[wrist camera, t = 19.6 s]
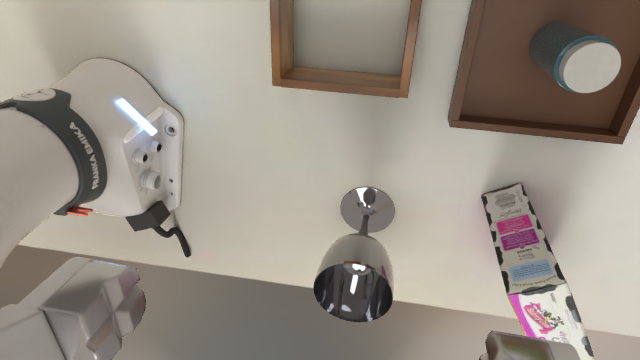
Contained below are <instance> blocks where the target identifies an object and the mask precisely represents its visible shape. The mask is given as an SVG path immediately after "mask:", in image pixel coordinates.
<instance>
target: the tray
mask: <svg viewBox="0 0 640 360" xmlns="http://www.w3.org/2000/svg"><path fill="white" fill-rule="evenodd" d="M554 21H567V22H570V23H572V24H575V25H577V26H579V27H582V28H584V29H587V30H589V31H591V32H594V33H596V34H598V35H601V36H603V37H606V38H608V39H609V40H611V41H612V42H613V43H614V44H615V46H616V48H617V50H618V52H619V54H620V57H621V66H620V70H619V72H618V74H617V76H616V77H615V78H614V80H613V81H612V82H611V83H610V84H608V85H607V86H606V87H604V88H602V89H600V90H598V91H595V92H591V93H579V92H571V91H568V90H565V89H564V88H562V87H561V86H560V85H559V84H558V83H556V82H555V81H554V80H553V79H552V78H551V77H550V76H548V75H547V74H546V73H545V72H544V71H543V70H542V69H540V68H539V67H538V66H537V65H536V64H535V63H534V62H533V61H532V60H531V58H530V55H529V46H530V42H531V40H532V38H533V36H534V35H535V33H536V32H537V31H538V30H539V29H540V28H542V27H543V26H545V25H546V24H548V23H551V22H554ZM639 107H640V0H472V3H471V8H470V13H469V18H468V22H467V27H466V32H465V37H464V42H463V47H462V51H461V56H460V61H459V66H458V71H457V76H456V81H455V85H454V90H453V95H452V100H451V105H450V110H449V115H448V121H449V126H450V127H456V128H466V129H476V130H486V131H496V132H505V133H515V134H525V135H535V136H545V137H555V138H565V139H575V140H584V141H594V142H604V143H614V144H623V142H624V140H625V137H626V135H627V133H628V131H629V129H630V127H631V124H632V122H633V120H634V118H635V116H636V113H637V111H638V109H639Z"/></svg>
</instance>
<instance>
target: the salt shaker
mask: <svg viewBox="0 0 640 360" xmlns="http://www.w3.org/2000/svg"><path fill="white" fill-rule="evenodd" d="M529 55H530V58H531V60H532V61H533V62H534V63H535V64H536V65H537V66H538V67H539V68H540V69H542V70H543V71H544V72H545V73H546V74H547V75H548V76H550V77H551V78H552V79H553V80H554V81H555V82H556V83H558V84H559V85H560V86H561V87H562V88H564V89H565V90H568V91H571V92H579V93H591V92H595V91H598V90H600V89H602V88H604V87H606V86H607V85H608V84H610V83H611V82H612V81H613V80H614V78H615V77H616V76H617V74H618V72H619V70H620V66H621V57H620V54H619V52H618V50H617V48H616V46H615V44H614V43H613V42H612V41H611V40H609V39H608V38H606V37H603V36H601V35H598V34H596V33H594V32H591V31H589V30H587V29H584V28H582V27H579V26H577V25H575V24H572V23H570V22H567V21H554V22H551V23H548V24H546V25H545V26H543V27H542V28H540V29H539V30H538V31H537V32H536V33H535V35H534V36H533V38H532V40H531V42H530V46H529Z"/></svg>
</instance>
